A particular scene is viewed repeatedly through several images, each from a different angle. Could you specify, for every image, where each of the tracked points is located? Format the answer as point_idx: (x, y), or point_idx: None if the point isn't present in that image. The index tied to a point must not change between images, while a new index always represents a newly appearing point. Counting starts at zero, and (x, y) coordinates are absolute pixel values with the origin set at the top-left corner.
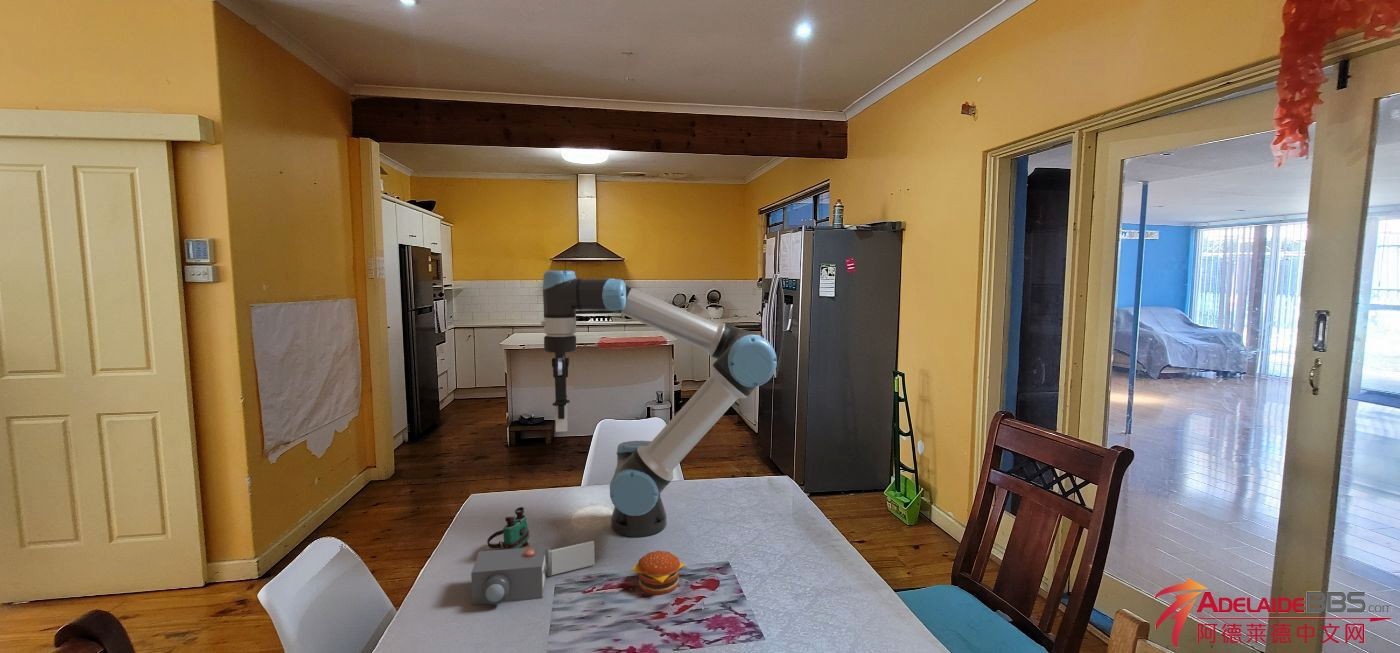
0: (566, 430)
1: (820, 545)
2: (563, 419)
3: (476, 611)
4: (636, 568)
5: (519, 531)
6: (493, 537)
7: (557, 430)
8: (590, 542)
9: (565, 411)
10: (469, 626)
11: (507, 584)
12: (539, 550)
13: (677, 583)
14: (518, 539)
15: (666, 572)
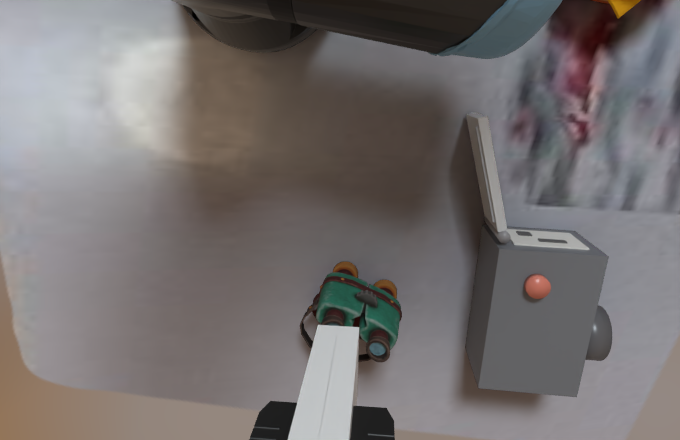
0: (358, 334)
1: None
2: (353, 402)
3: None
4: (627, 1)
5: (376, 307)
6: None
7: (357, 387)
8: (486, 127)
9: (349, 437)
10: (623, 352)
11: (601, 315)
12: (519, 262)
13: None
14: (385, 302)
15: None
